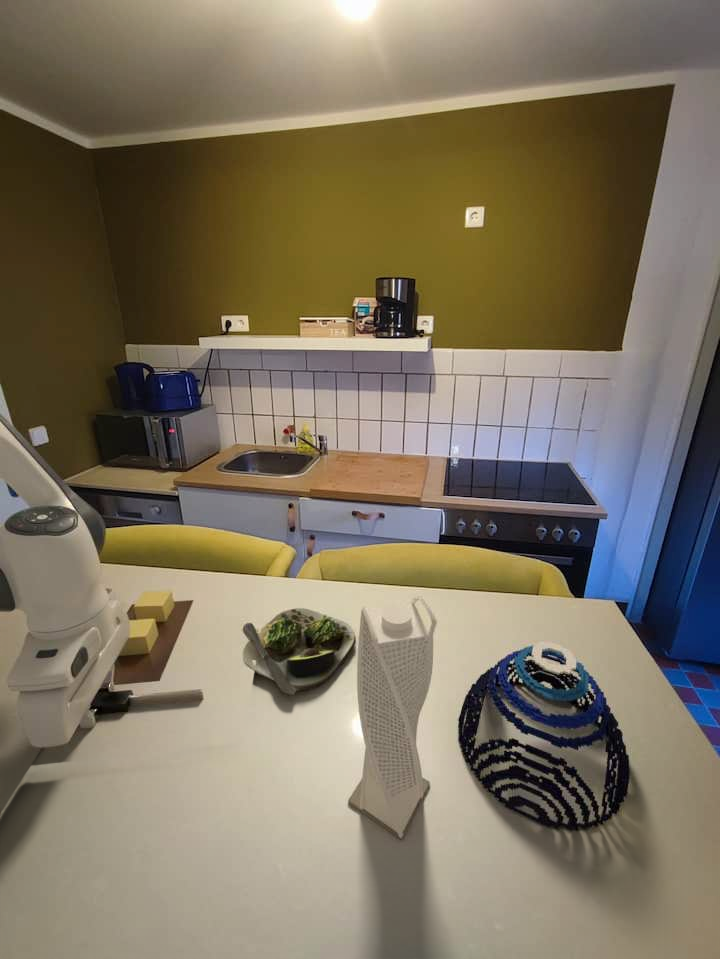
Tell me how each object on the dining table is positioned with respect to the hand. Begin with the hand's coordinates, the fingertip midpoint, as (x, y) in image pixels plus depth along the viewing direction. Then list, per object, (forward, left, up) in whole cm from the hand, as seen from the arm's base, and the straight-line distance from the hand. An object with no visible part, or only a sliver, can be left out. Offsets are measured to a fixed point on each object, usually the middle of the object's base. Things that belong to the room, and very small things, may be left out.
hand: (98, 708), depth 60 cm
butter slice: (+1, +20, 0) cm, 20 cm away
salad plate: (+28, +9, -2) cm, 29 cm away
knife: (+5, 0, -1) cm, 5 cm away
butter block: (+1, +12, 0) cm, 12 cm away
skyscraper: (+39, -16, -2) cm, 42 cm away
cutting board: (-1, +14, -1) cm, 14 cm away
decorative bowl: (+59, -11, -2) cm, 60 cm away
